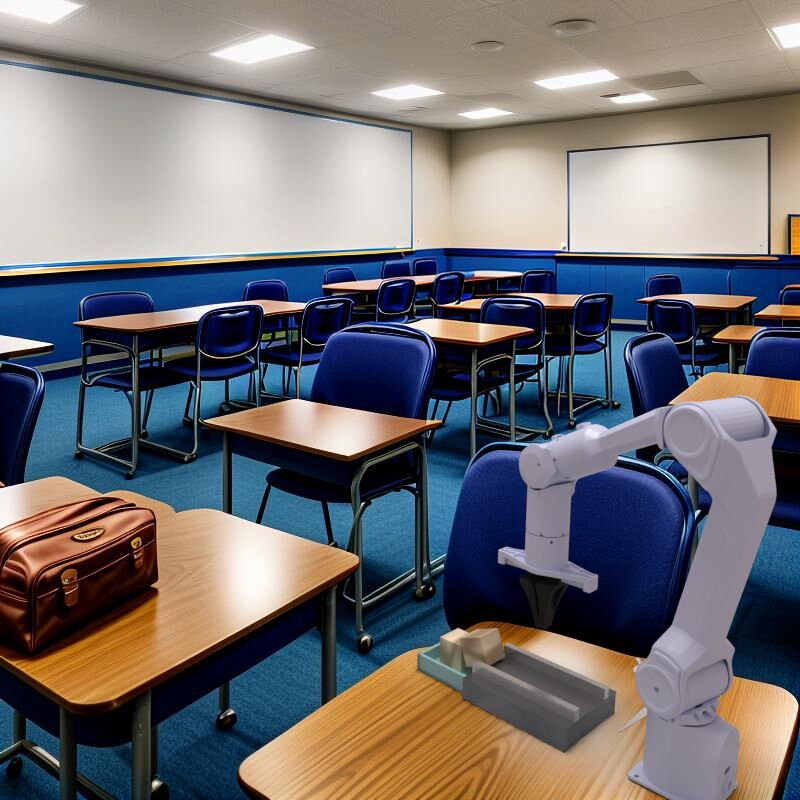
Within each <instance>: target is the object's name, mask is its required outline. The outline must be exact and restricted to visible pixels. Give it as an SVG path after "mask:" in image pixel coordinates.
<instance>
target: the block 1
mask: <svg viewBox="0 0 800 800" xmlns="http://www.w3.org/2000/svg"><path fill="white" fill-rule="evenodd" d="M469 633H470V632H468V631H465V630H463V629H461V628H459V627H456V629H453V630H451V631H449V632H447V633H445V634H443V635H441V636H440V638H439V643H440V663H442V664H444V665H446V666H448V667H450V668H452V669H454V670H456V671H458V672H460V673H461V672H463V671H465V670H467V669H468V668H470V667H467V666H466V663H465V659H464V655H463V651H462V647H461V643H460V639H459V638H461V637H463V636H465V635H467V634H469Z"/></svg>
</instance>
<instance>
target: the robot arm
mask: <svg viewBox="0 0 800 800" xmlns="http://www.w3.org/2000/svg"><path fill="white" fill-rule="evenodd" d="M575 428H576V430H574V431H572V432H570V433H567V434H565V435H564V434H563V433H560V434H559V433H558V434H555V435H552V436H551V440H550V441H549V442H544V443H535V442H534V443H533V442H532V443H530V444H529V445H528V446H526V447H525V448H524V449H522V451H521V452H520V455H519V458H518V468H519V474H520V477H521V479H522V480H523V481H524V483H525V484H526V485H527V492H526V493H527V495H526V516H525V517H526V519H525V538H524V539H525V541H524V543H525V545H524V549H518V548H513V547H509V546H505V547H503V548H499V549H498V550H497V551H498V553H497V556H498V557H497V564H501V565H506V564H507V565H510V566H512V567H516V568H519V569H522V570H525V571H524V575H522V576H521V577H520V578H519V584H520V585H521V587H522V589H523V591H524V593H525V595H526V598H527V599H528V603H529V606H530V609H531V614H532V617H533V621H534V622H533V623H534V626H535V628H536V629H540V630H542V631H545V630H547V629H548V628H550V627H551V626H552V624H553V620H554V617H555V613H556V610H557V608H558V605H559V604H560V602H561V599H562V597H563V596H564V594H565V592H566V590H567V589H568V587H569V586H570V585H571V586H574V587H577V588H579V589H582V591H583V593H584V592H585V593H587V594H591V593H593V592H594V591H596V590H598V587H599V586H598V585H599V581H598V580H599V575H598V574H596V573H592V572H590V571H589V570H586V569H584V568H582V567H580V566H579V565H577V564H575V563H573V562H571V561H569V549H570V548H569V546H570V545H569V543H570V525H571V503H572V496H574V494H575V492H576V491H575V489H576V483H577V482H578V480H579V479H582V478H584V477H587V476H590V475H594V474H598V473H600V472H603V471H607V470H610V469H611V468H613V467H614V466H615V465H616V464H617V461H618V458H619V455H622V454H624V453H628V452H631V451H636V450H639V449H643V448H646V447H650V446H653V445H657V446H658V448H659V449H660V450H668V451H669V452H670V453H671V454H672V456H673V457H674V458H675V459H676V460H677V461H678V462H679V463H680V465H681V466H682V467H683V468H685V470H686V472H688V474H690V475H691V477H692V478H694V479H695V481H696V482H697V483H698V484H699V485H700V486H701V488H702V489H704V490H705V491H706V492H708V493H709V495H710V497H711V498H712V500H711V505H710V508H709V511H708V514H707V516H706V519H705V520H706V521H705V523H704V527H703V529H702V532H701V536H700V538H699V542H698V544H697V548H696V550H695V553H694V557H693V560H692V562H691V566H690V569H689V572H688V574H687V579H686V581H685V584H684V588H683V591H682V593H681V597H680V599H679V601H678V606H677V608H676V611H675V614H674V616H673V617H674V618H673V621H672V623H671V625H670V627H669V628H668V629H666V631H665V632H664V633H663V634H662V635H661V636H660V637H659V638H658V639H657V640H656V641H655V643H653V645H652V646H651V650H650V653H649V655H647V657H646V658H645V659H644V660H641V663H640V664H638V667H637V669H636V673H635V674H634V682H635V688H636V691H637V693H638V696H639V698H640V700H641V701H642V703H643V704H644V705H643V706H644V707H645V708H646V709H647V715H646V716H645V717H646V721H645V730H644V731H645V733H644V744H643V745H644V746H643V747H644V748H643V758H642V759H641V760H640V761H638V762H637V764H635V765H634V766H633V767H632V768H631V769H630V770H629V771H628V772H627V777H628V779H629V780H632V781H633V782H635V783H637V784H639V785H641V786H643V787H645V788H647V789H649V790H651V791H653V792H654V793H656V794H659V795H660V796H662V797H664V798H666V799H668V800H727V799H728V798H729V796H731V794H732V793H733V792H734V791H733V790H736V788H737V787H738V784H739V783H738V781H737V772H738V761H739V760H738V759H739V751H740V740H741V739H740V737H741V736H740V731H739V729H738V728H737V727H736V726H734V725H732V724H731V723H729V722H728V721H726V720H725V719H724V718H723V717H722V716H720V715H719V713H718V712H717V711H718V708H719V707H720V700H721V699H720V696H723V695H725V694H726V693H728V692H729V691H730V689H732V685H733V682H734V673H733V666H732V665H733V663H732V662H733V657H734V653H736V652H735V651H736V648H735V647H734V646H733V644H732V642H730V641H729V639H728V638H727V637H728V633H729V630H730V628H731V625H732V623H733V619H734V617H735V614H736V611H737V608H738V606H739V603H740V601H741V597H742V594H743V592H744V589H745V587H746V583H747V581H748V578H749V576H750V573H751V570H752V567H753V564H754V562H755V559H756V556H757V553H758V551H759V548H760V546H761V543H762V539H763V537H764V535H765V532H766V528H767V525H768V523H769V521H770V517H771V515H772V512H773V509H774V507H775V504H776V502H777V501H776V500H777V483H776V478H775V477H776V474H775V467H774V460H773V450H772V447H773V444H774V441H775V438H776V435H777V433H778V430H777V428H776V427H775V425H774V424H773V422H772V420H771V419H770V417H769V416H768V414H767V413H766V411H765V409H764V408H763V406H762V405H761V404H760V403H759V402H758V401H756V400H755V399H754V398H752V397H750V396H749V397H748V396H745V395H740V394H739V395H738V394H737V395H732V396H728V397H726V398H725V397H724V398H718V399H711V400H709V399H708V400H704V401H703V400H702V401H682V402H680V403H678V404H675V405H667V406H662V407H658V408H654V409H652V410H650V411H648V412H645V413H644V414H641V415H639V416H636V417H634V418H632V419H629V420H627V421H624V422H623V423H621V424H618V425H616V426H613V427H611V428H609V429H608V427H606V426H605V425H601V424H598V423H597V424H596V423H595V424H592V423H591V422H590V421H587V422H582V423H579V424H576V426H575ZM644 707H643V708H644ZM736 786H737V787H736ZM735 787H736V788H735ZM732 791H733V792H732Z"/></svg>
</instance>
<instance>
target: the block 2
mask: <svg viewBox="0 0 800 800" xmlns="http://www.w3.org/2000/svg"><path fill="white" fill-rule="evenodd" d="M468 633H469V634H467V635H465V636H463V637H461V638H459V639H460V643H461V647H462V651H463V655H464V659H465V663H466V666H467V667H472V664H473V662H474V661H476V660H479V661H481V662H483V663H485V664H487V665H492V664H493V663H495V662H497V661H498V660H500V659H502V658H504V657H505V653H504V650H503V649H504V645H503V641H502V639H501V635H500V631H499V628H496V627H495V628H477V629H475V630H473V631H470V632H468Z"/></svg>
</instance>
